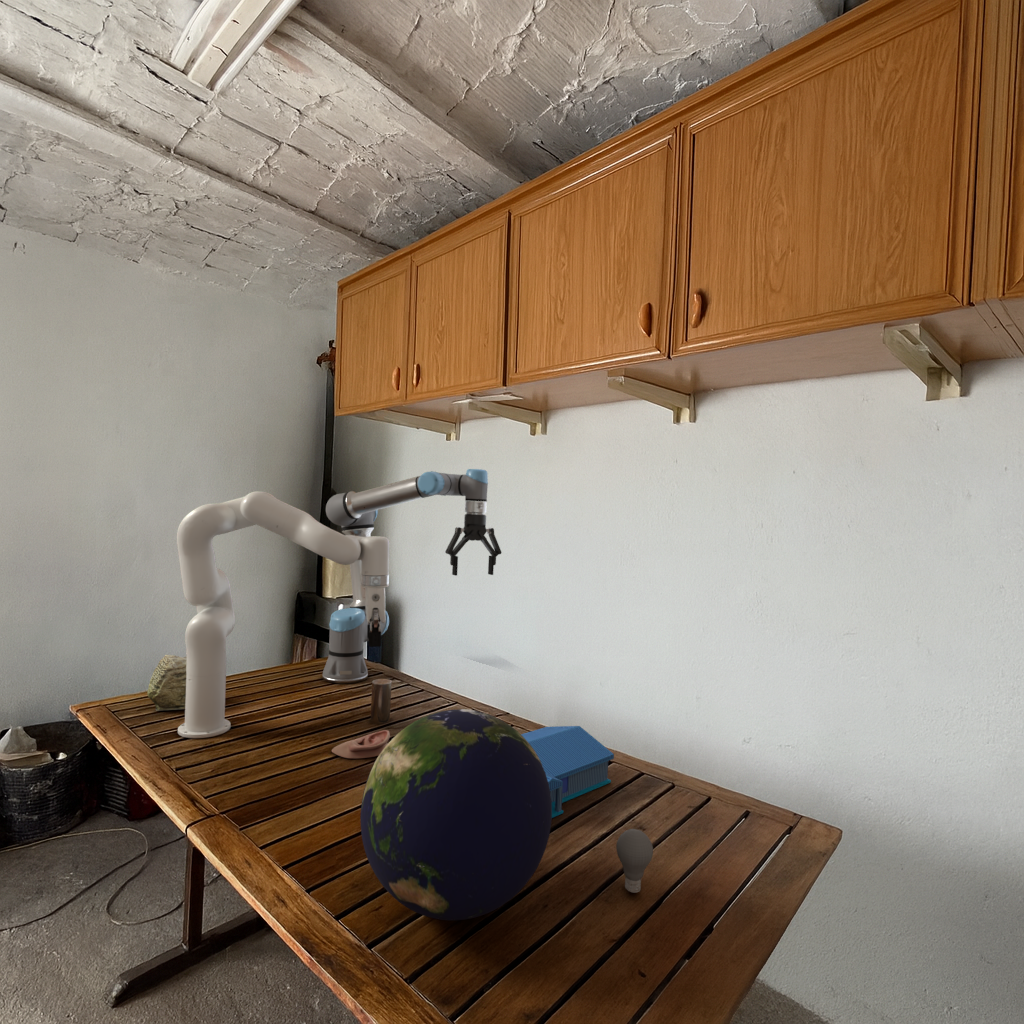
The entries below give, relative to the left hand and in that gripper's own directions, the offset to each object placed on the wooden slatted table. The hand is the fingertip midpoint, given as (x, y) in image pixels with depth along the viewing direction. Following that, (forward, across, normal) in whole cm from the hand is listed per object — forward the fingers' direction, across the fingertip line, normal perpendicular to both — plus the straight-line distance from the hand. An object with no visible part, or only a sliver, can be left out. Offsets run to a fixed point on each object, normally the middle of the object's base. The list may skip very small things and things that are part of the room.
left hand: (373, 642), depth 176 cm
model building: (+24, -46, -31) cm, 60 cm away
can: (+23, +4, -2) cm, 24 cm away
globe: (+24, -81, -9) cm, 85 cm away
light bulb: (+24, -84, -39) cm, 95 cm away
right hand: (-14, +36, -35) cm, 53 cm away
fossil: (+22, +23, +53) cm, 62 cm away
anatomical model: (+23, -17, +4) cm, 29 cm away
